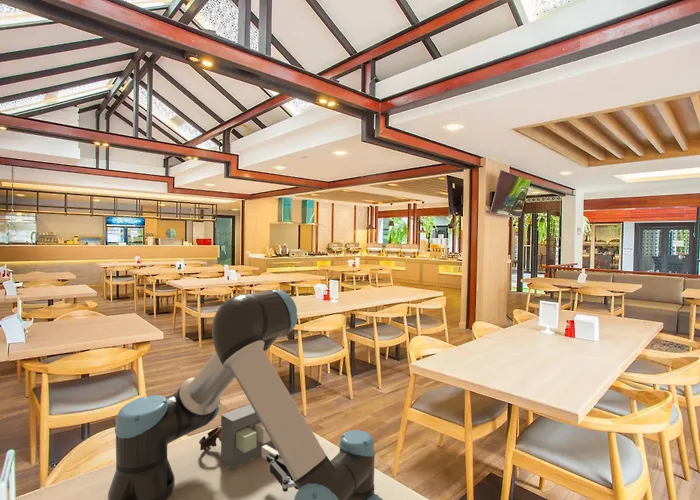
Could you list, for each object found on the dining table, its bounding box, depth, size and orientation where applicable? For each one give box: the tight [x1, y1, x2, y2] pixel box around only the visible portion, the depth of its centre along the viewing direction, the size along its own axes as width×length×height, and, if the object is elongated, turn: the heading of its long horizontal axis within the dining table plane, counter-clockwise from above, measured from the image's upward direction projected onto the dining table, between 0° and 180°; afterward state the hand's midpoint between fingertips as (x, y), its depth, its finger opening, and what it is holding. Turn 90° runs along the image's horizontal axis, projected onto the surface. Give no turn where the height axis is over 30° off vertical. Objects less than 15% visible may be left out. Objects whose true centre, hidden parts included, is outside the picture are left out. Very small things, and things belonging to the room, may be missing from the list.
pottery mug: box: [198, 426, 221, 452], centre depth 122 cm, size 12×10×8 cm
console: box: [220, 403, 276, 470], centre depth 121 cm, size 20×6×14 cm, turn 139°
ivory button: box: [255, 421, 271, 444], centre depth 118 cm, size 4×5×4 cm
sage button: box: [236, 427, 256, 453], centre depth 113 cm, size 4×5×4 cm
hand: (263, 450), depth 107 cm, fingers closed
